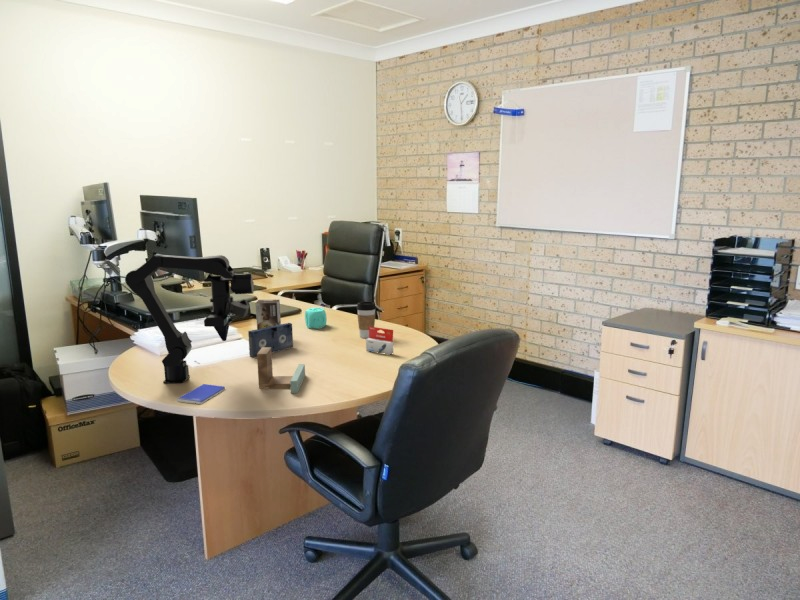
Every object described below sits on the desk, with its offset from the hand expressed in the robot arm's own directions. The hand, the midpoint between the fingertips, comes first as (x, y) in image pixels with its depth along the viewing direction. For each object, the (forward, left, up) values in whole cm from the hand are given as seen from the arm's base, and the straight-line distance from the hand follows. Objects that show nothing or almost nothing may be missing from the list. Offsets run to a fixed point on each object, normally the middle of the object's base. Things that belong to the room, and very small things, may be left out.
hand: (224, 340), depth 179 cm
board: (+25, -6, -13) cm, 29 cm away
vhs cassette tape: (+9, +29, -13) cm, 33 cm away
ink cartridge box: (+51, +27, -13) cm, 59 cm away
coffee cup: (+45, +50, -13) cm, 69 cm away
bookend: (+18, -6, -13) cm, 23 cm away
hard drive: (-3, -15, -14) cm, 21 cm away
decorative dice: (+21, +67, -13) cm, 71 cm away
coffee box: (+4, +48, -13) cm, 50 cm away
